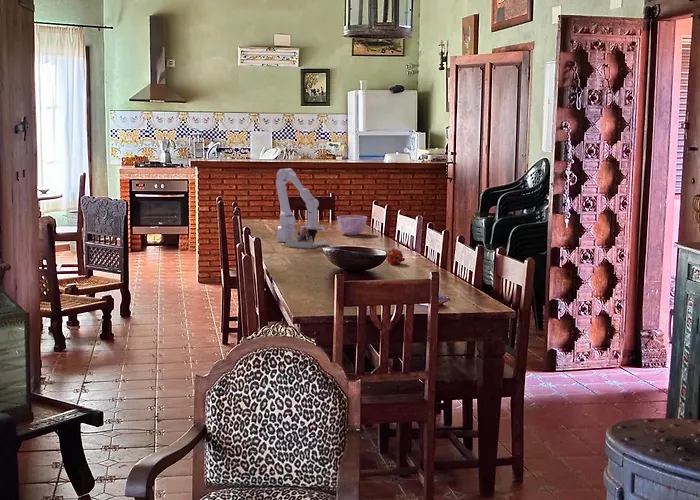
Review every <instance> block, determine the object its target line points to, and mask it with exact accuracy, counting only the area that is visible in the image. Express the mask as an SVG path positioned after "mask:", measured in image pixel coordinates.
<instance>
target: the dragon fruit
mask: <svg viewBox="0 0 700 500" xmlns="http://www.w3.org/2000/svg"><path fill="white" fill-rule="evenodd" d="M386 258H387V263H388V264H389V263H390V264H391V265H393V266H395V265H400V264H402V262H405V259H406V258H405V257H404V255H403V252H402V251H401V250H399V249H397V248H391V249H390V250H389V251H387V257H386Z"/></svg>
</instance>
